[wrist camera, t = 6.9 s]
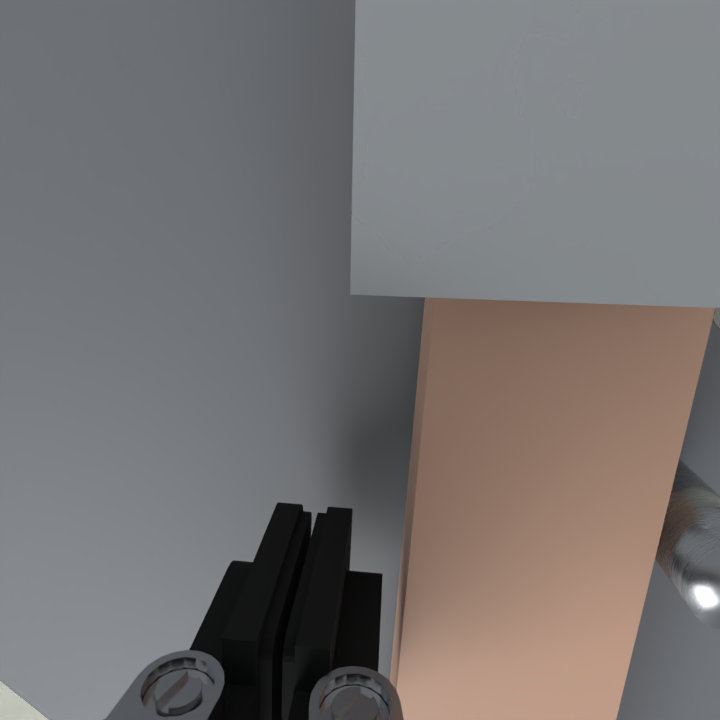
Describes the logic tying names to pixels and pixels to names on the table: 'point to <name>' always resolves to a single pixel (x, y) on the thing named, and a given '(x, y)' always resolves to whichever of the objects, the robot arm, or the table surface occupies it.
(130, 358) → the base board
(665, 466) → the link
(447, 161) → the keeper
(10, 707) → the table surface
